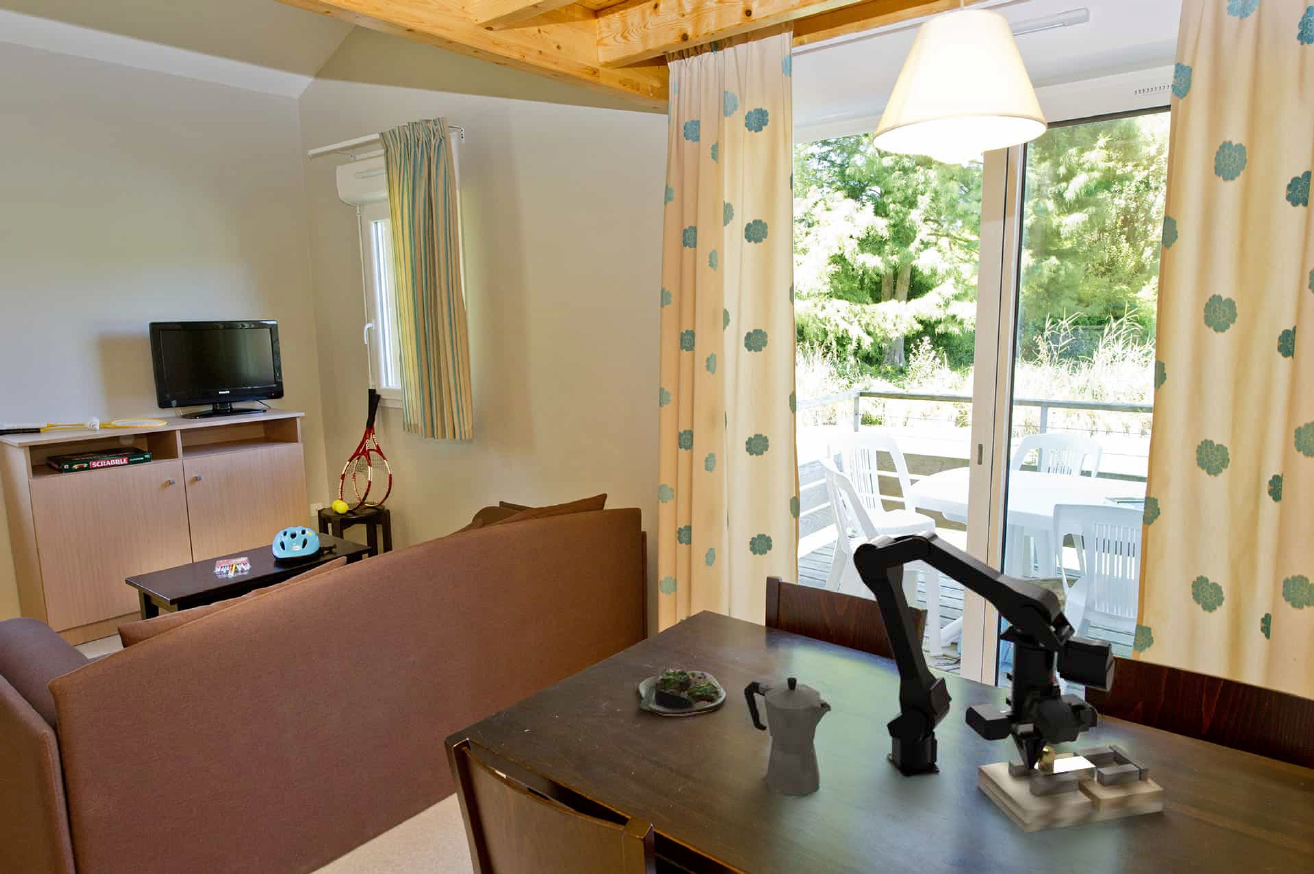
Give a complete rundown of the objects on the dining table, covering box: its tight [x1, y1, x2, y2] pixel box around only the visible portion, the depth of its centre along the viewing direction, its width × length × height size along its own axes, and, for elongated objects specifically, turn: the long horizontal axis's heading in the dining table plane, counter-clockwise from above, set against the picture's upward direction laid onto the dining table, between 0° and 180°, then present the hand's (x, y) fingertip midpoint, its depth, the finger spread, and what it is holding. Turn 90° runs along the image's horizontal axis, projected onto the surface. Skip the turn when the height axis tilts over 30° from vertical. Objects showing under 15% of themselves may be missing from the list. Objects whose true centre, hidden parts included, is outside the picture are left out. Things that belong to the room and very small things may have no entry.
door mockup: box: [977, 744, 1165, 834], centre depth 122 cm, size 23×12×6 cm, turn 101°
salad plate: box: [638, 666, 727, 714], centre depth 161 cm, size 19×18×5 cm
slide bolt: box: [1030, 745, 1096, 781], centre depth 122 cm, size 9×3×5 cm, turn 100°
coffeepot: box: [743, 677, 832, 797], centre depth 129 cm, size 15×9×18 cm, turn 54°
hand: (1029, 768), depth 121 cm, fingers closed
